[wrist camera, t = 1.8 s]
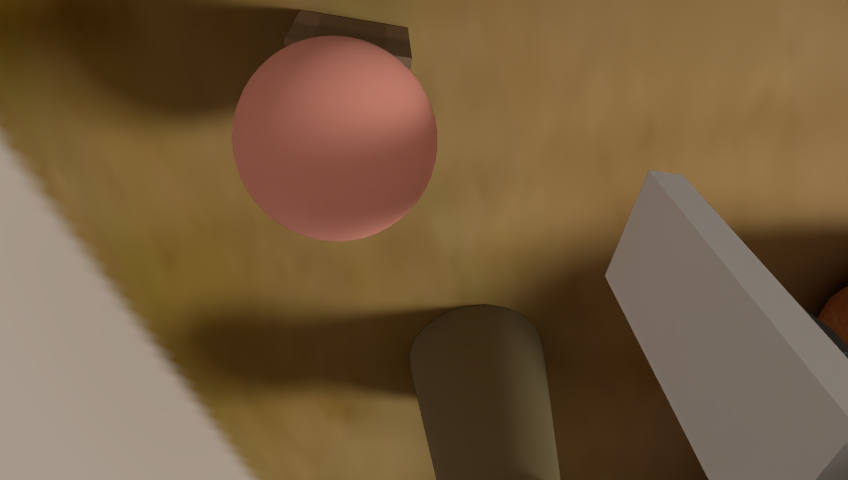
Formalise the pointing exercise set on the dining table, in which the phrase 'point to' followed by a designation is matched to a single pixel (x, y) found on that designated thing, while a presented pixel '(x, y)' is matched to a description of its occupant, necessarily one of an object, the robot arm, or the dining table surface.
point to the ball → (334, 138)
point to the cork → (485, 396)
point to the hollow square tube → (351, 32)
